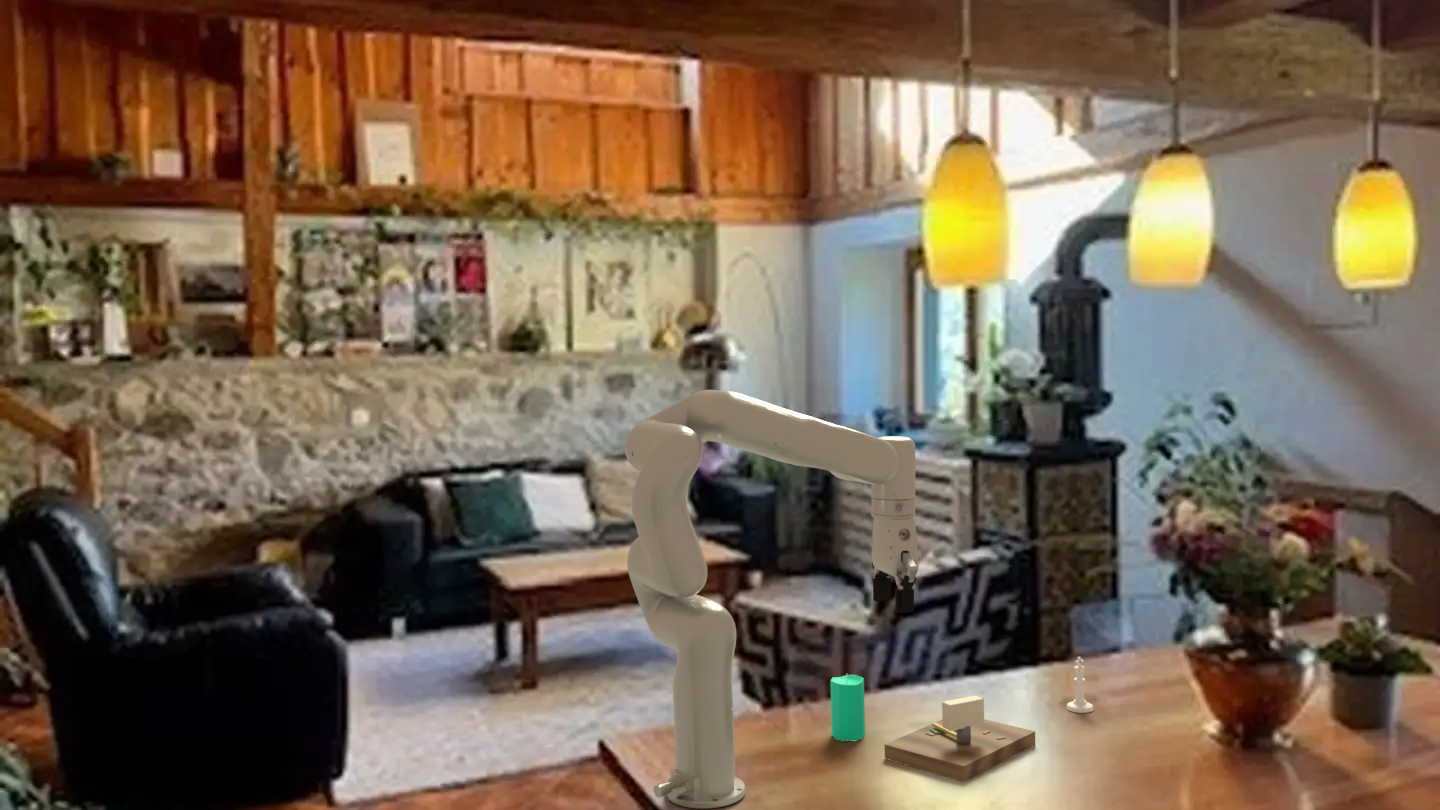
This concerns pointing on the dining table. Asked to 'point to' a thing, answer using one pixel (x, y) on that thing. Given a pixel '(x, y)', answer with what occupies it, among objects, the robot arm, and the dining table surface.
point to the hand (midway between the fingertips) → (893, 606)
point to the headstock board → (960, 749)
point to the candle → (847, 707)
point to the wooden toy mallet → (961, 717)
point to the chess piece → (1079, 692)
